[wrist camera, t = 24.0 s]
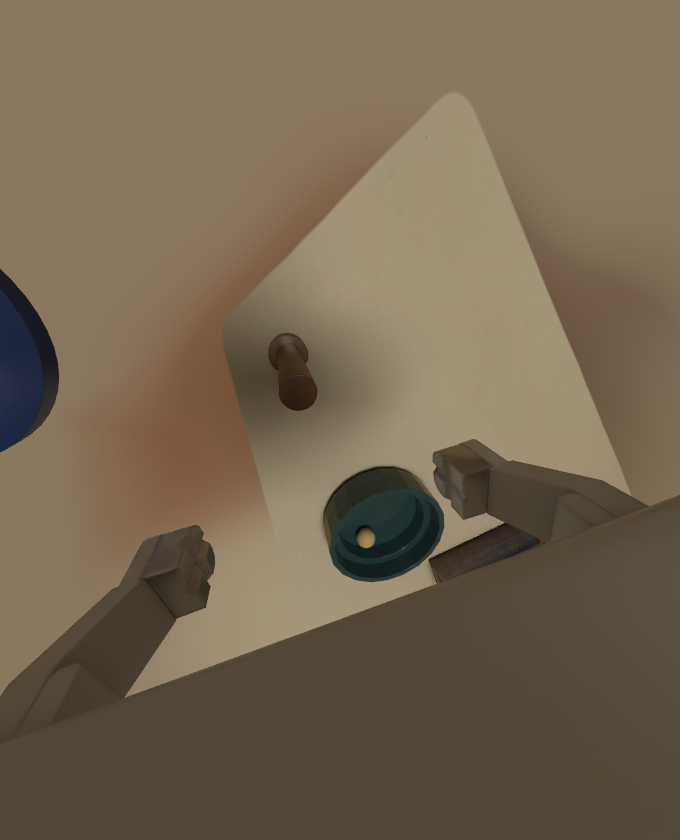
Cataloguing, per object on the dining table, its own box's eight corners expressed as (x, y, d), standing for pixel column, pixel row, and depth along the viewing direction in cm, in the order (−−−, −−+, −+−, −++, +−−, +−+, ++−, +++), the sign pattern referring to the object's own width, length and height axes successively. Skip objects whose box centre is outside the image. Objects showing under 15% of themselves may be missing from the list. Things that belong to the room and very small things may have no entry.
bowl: (335, 563, 49) (343, 595, 44) (311, 485, 42) (317, 512, 36) (427, 532, 51) (445, 559, 46) (421, 452, 43) (441, 473, 38)
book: (569, 585, 56) (457, 640, 55) (540, 558, 62) (440, 606, 61) (569, 530, 49) (440, 592, 48) (536, 505, 55) (422, 559, 54)
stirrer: (274, 374, 34) (275, 429, 20) (264, 337, 32) (256, 369, 18) (309, 365, 34) (335, 414, 20) (301, 329, 33) (323, 354, 18)
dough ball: (381, 538, 45) (372, 554, 44) (367, 533, 48) (358, 548, 46) (373, 526, 44) (364, 542, 42) (359, 521, 46) (350, 537, 45)
